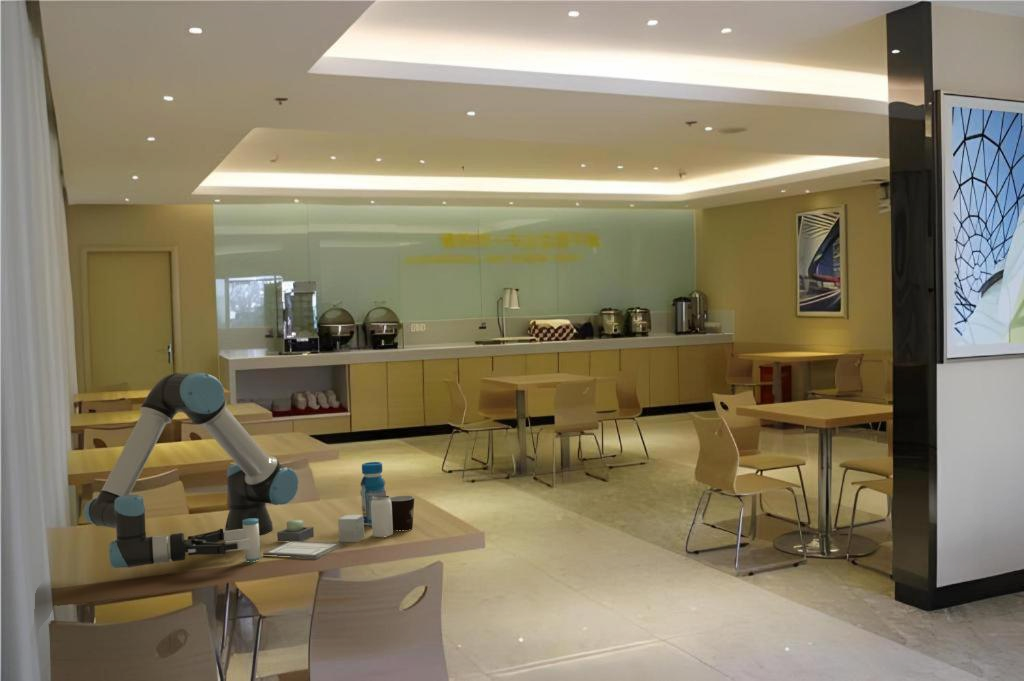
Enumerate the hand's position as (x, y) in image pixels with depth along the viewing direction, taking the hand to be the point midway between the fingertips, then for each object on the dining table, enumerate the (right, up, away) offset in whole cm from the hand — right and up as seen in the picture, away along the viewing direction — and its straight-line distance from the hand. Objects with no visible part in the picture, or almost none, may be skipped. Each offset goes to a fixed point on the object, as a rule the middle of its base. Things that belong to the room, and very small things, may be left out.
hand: (248, 538), depth 265 cm
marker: (+1, -7, +1) cm, 7 cm away
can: (+35, -5, +24) cm, 43 cm away
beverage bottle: (+30, -4, +42) cm, 52 cm away
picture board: (+14, -6, +9) cm, 17 cm away
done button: (+8, -3, +25) cm, 26 cm away
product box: (+26, -5, +20) cm, 34 cm away
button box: (+8, -6, +25) cm, 27 cm away
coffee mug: (+41, -4, +33) cm, 53 cm away
